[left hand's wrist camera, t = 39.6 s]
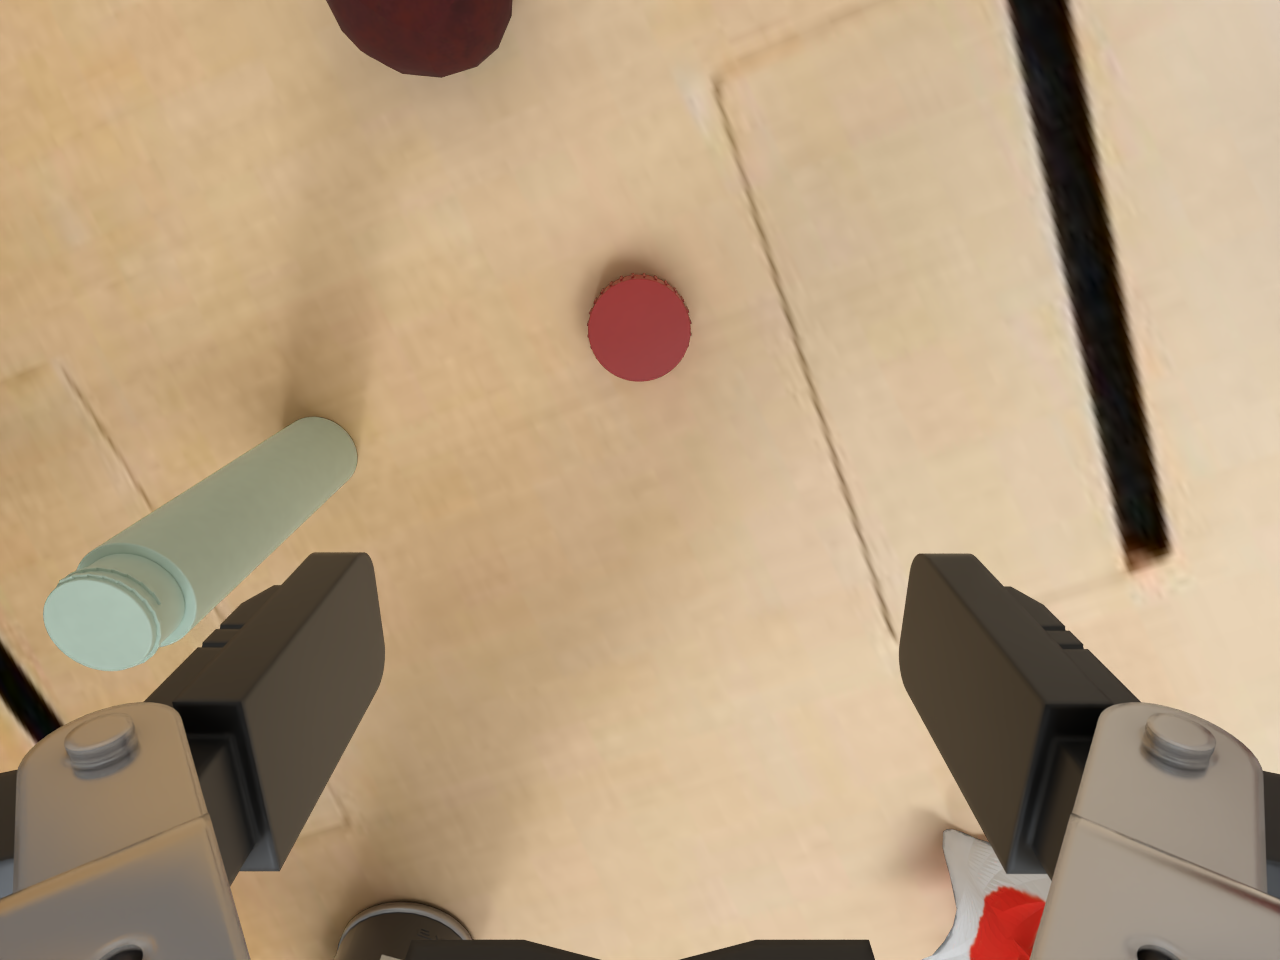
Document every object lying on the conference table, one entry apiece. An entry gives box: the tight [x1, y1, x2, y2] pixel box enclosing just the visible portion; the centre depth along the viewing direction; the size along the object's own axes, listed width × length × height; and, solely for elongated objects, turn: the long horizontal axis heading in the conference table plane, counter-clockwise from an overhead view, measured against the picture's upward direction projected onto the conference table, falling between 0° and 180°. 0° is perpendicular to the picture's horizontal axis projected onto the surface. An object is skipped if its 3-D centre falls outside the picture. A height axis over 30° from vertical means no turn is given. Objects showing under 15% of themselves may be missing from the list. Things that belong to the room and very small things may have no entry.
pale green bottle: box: [43, 417, 357, 671], centre depth 31 cm, size 4×4×17 cm
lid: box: [587, 273, 691, 381], centre depth 36 cm, size 5×5×2 cm
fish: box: [922, 829, 1052, 960], centre depth 47 cm, size 11×16×10 cm
